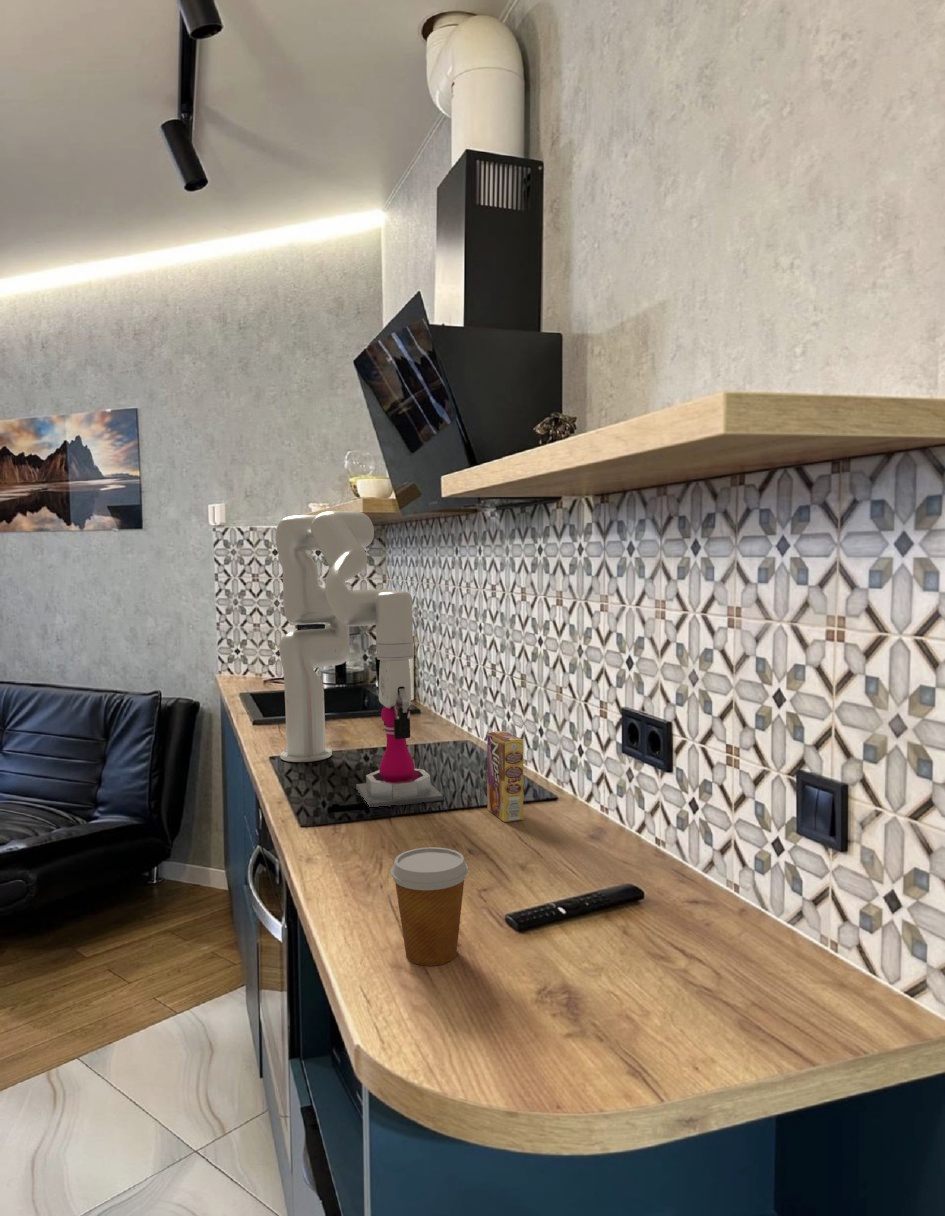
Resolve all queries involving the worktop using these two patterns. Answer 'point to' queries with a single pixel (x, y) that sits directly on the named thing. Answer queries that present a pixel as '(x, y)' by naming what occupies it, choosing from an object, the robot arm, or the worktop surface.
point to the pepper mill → (395, 753)
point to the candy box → (505, 775)
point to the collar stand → (398, 790)
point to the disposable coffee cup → (430, 902)
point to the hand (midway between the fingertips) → (396, 733)
